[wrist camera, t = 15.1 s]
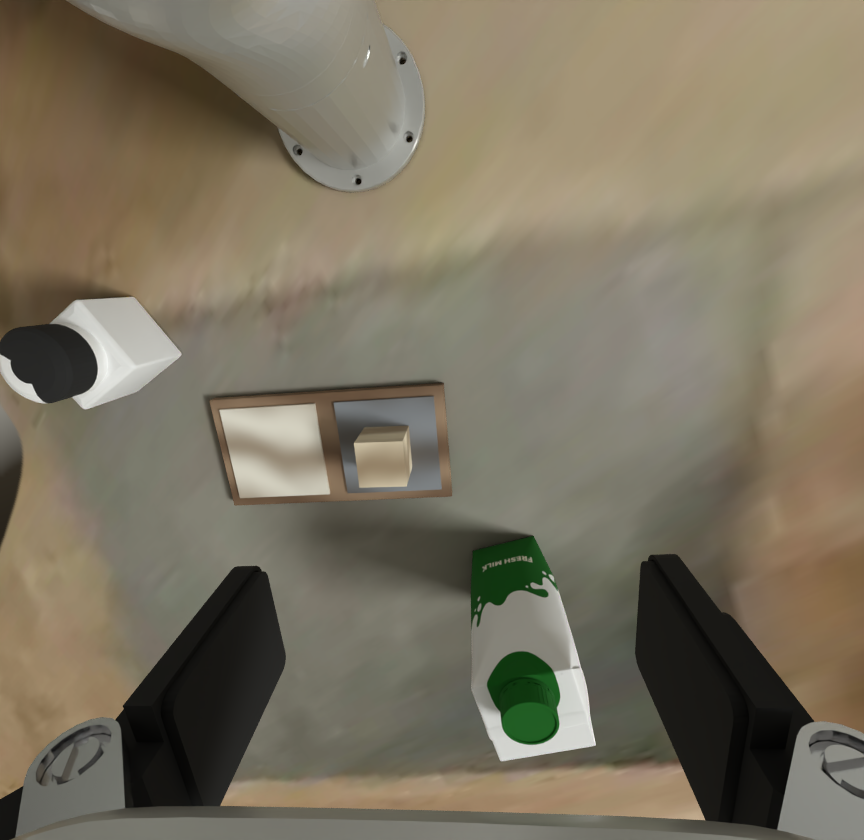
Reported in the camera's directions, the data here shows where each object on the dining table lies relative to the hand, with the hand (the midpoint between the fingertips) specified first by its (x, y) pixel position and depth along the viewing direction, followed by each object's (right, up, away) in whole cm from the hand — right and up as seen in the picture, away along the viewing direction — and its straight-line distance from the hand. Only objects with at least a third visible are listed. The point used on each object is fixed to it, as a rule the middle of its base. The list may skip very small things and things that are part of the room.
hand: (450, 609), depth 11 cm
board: (-11, +2, +36) cm, 38 cm away
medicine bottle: (-31, +12, +35) cm, 48 cm away
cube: (-5, +2, +34) cm, 35 cm away
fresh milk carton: (+8, -12, +40) cm, 42 cm away
